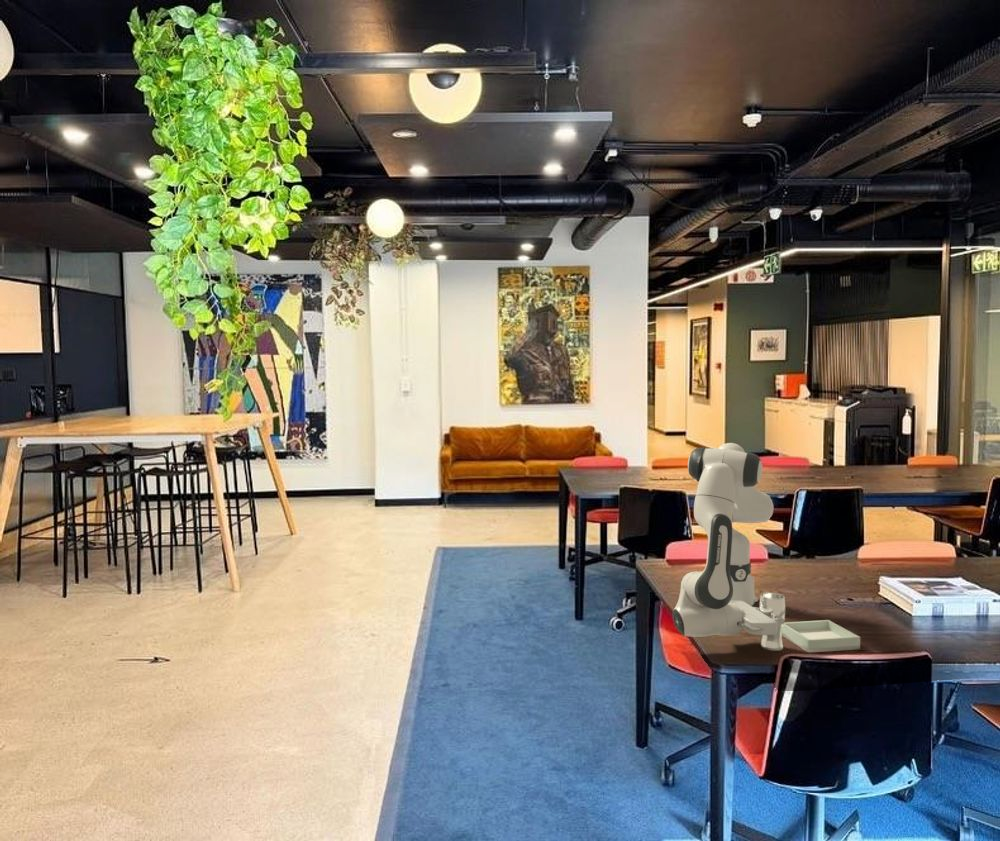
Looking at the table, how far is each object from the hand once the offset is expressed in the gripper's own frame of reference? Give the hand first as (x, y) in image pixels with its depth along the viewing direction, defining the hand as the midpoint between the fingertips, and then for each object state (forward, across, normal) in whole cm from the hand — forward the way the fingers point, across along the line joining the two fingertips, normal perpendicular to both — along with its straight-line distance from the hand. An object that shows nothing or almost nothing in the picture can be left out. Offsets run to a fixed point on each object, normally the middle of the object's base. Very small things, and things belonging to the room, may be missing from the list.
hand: (775, 616), depth 207 cm
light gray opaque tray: (+15, +2, +9) cm, 18 cm away
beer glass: (-1, 0, +9) cm, 9 cm away
